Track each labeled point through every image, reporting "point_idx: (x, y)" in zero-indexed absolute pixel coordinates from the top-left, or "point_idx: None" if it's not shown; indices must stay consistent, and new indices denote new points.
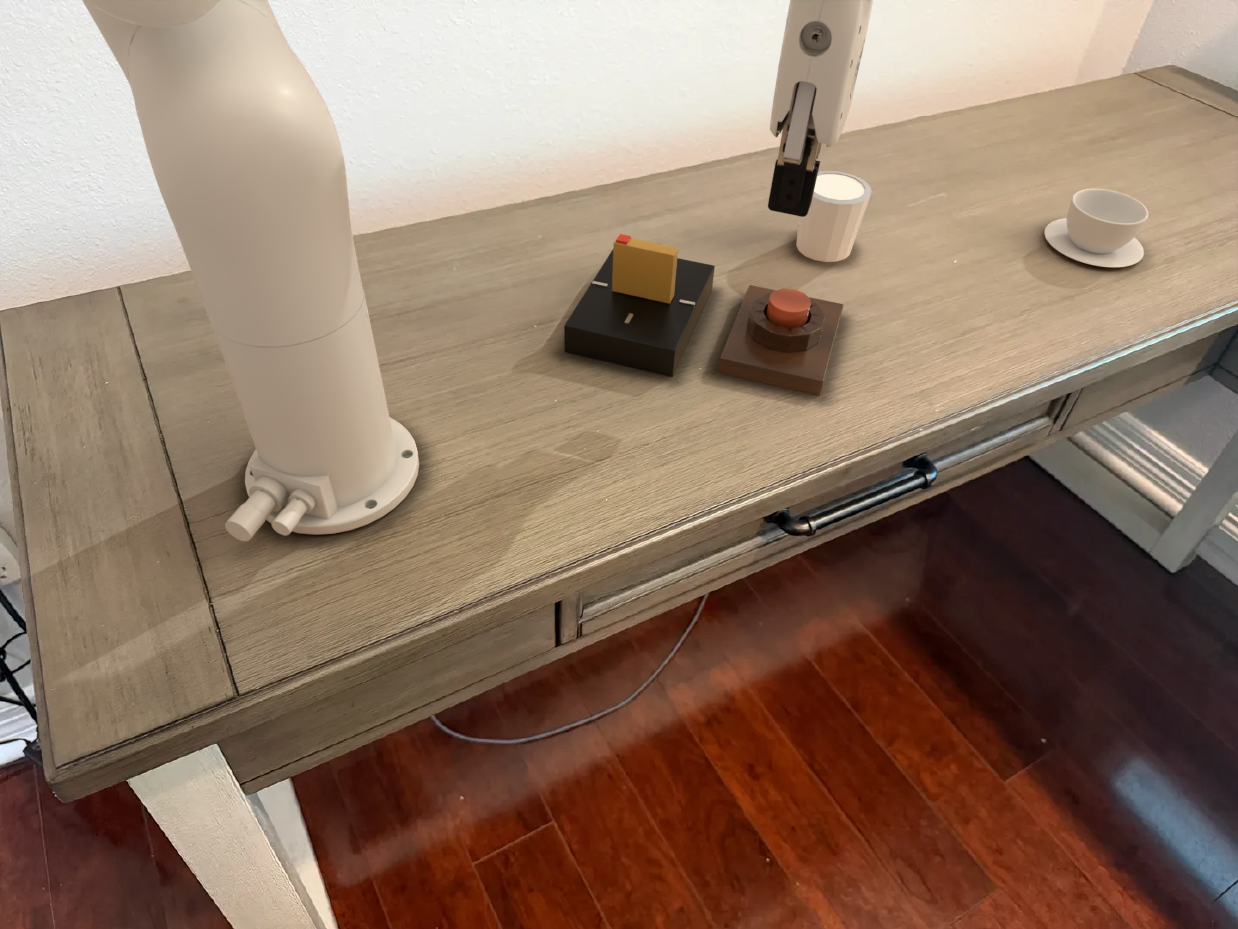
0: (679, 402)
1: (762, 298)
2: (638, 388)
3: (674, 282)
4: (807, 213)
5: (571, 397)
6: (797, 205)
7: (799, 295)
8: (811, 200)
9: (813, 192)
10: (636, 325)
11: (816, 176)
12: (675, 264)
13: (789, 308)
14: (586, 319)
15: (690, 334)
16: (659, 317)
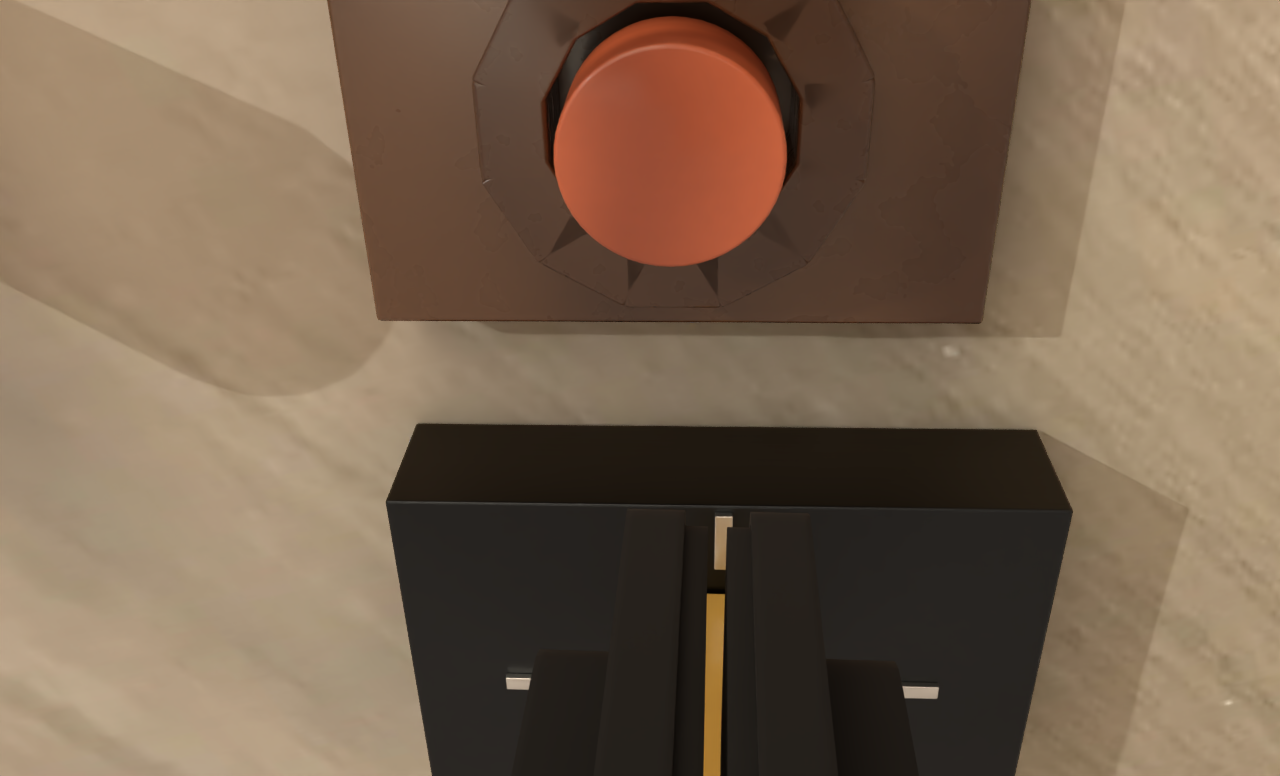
0: (1180, 373)
1: (589, 272)
2: (1120, 513)
3: (709, 646)
4: (809, 520)
5: (1205, 671)
6: (895, 667)
7: (606, 120)
8: (671, 556)
9: (632, 601)
10: (940, 659)
11: (672, 757)
12: (719, 721)
13: (753, 149)
14: None
15: (777, 441)
16: (858, 604)
